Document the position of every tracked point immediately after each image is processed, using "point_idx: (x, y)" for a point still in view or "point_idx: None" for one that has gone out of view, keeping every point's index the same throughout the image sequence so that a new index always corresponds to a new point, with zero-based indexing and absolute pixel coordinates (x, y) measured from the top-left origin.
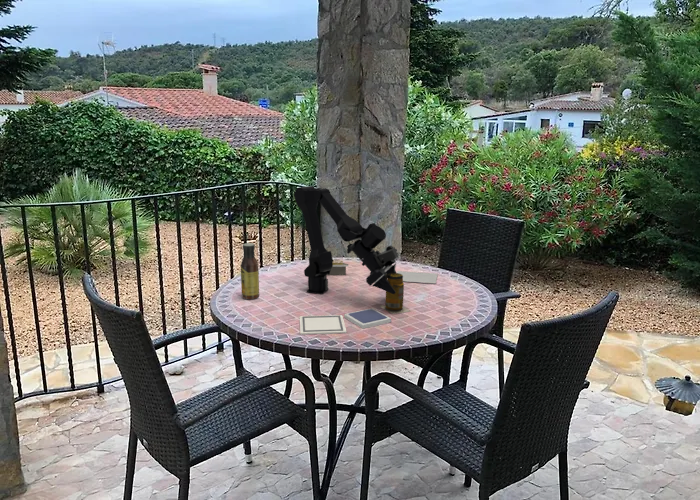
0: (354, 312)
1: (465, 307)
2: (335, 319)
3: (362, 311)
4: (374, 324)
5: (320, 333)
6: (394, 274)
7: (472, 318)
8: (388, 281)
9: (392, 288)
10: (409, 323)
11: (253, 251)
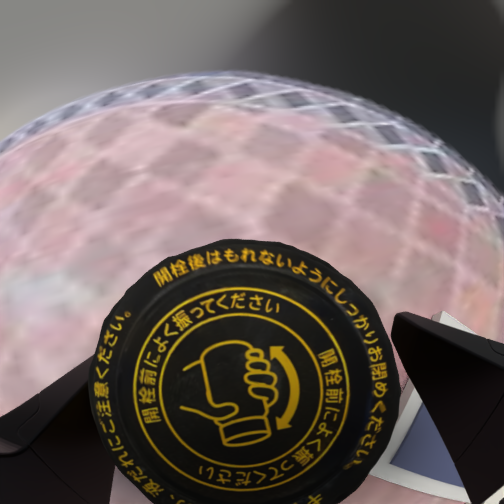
0: (459, 486)
1: (128, 122)
2: (496, 494)
3: (439, 471)
4: None
5: None
6: (196, 423)
7: (227, 92)
8: (499, 360)
9: (444, 325)
10: (400, 242)
11: None
